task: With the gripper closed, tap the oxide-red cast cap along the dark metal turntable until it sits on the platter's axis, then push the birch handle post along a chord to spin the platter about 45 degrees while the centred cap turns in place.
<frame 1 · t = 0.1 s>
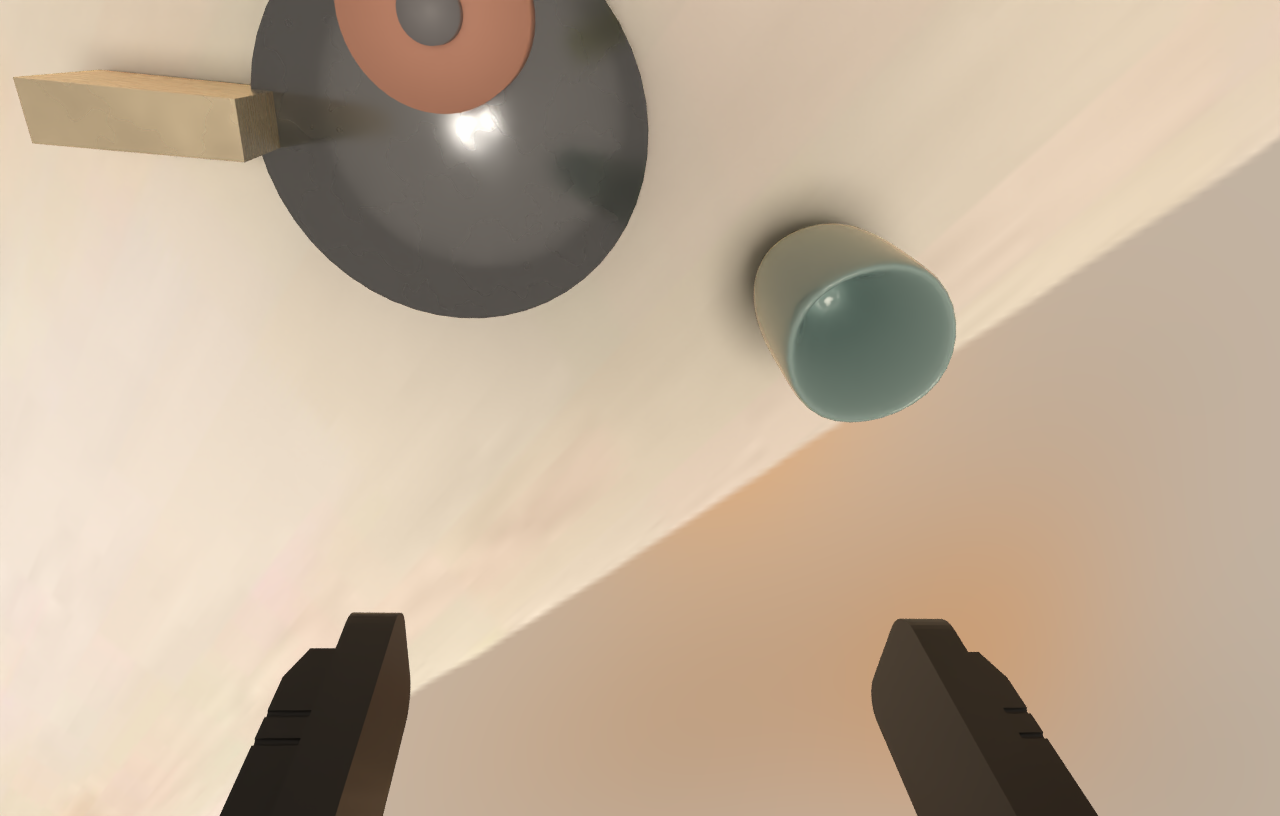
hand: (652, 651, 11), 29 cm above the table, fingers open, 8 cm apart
cast cap: (453, 14, 30), point 2 cm above the table, touching platter
cup: (806, 276, 39), on the table
platter: (372, 133, 31), point 3 cm above the table, hinge at 0.0°, touching cast cap
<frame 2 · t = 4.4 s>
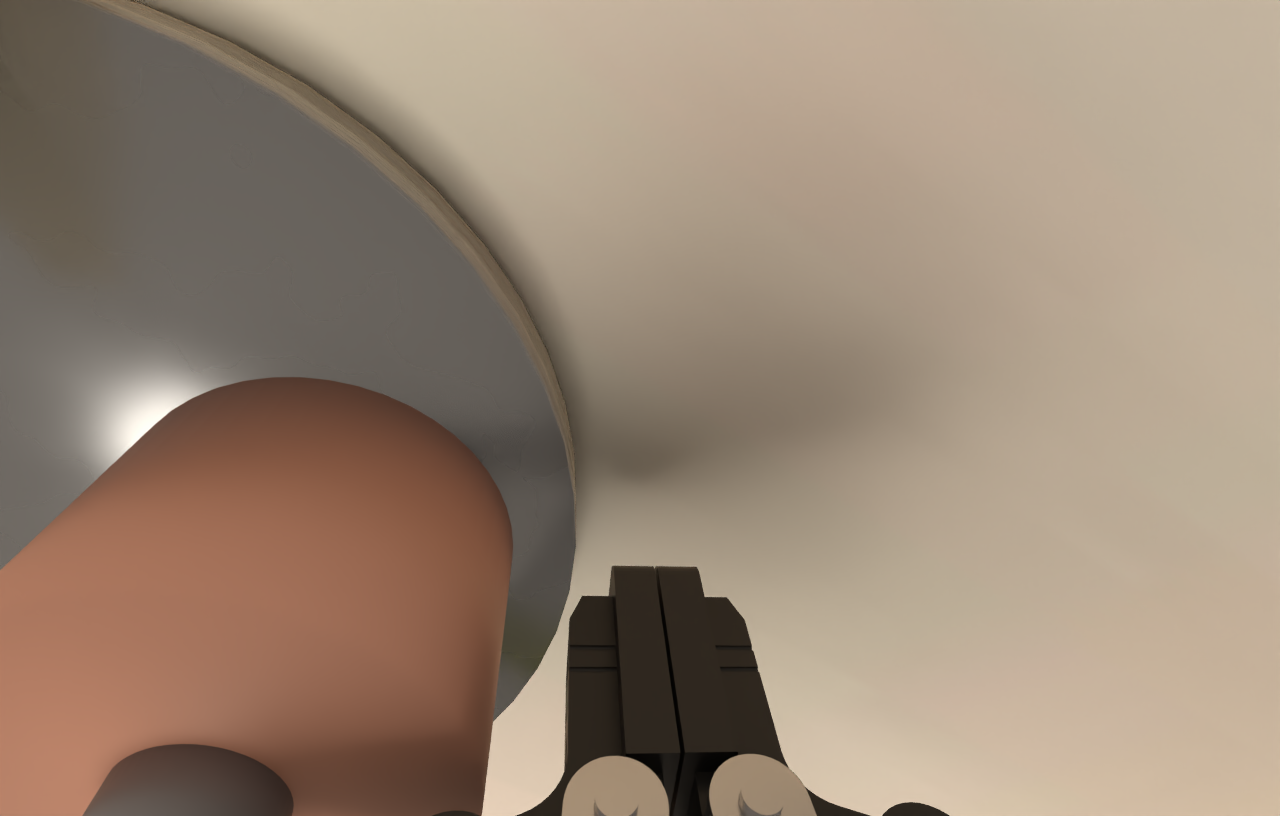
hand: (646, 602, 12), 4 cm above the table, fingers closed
cast cap: (326, 542, 13), point 2 cm above the table, touching gripper, platter
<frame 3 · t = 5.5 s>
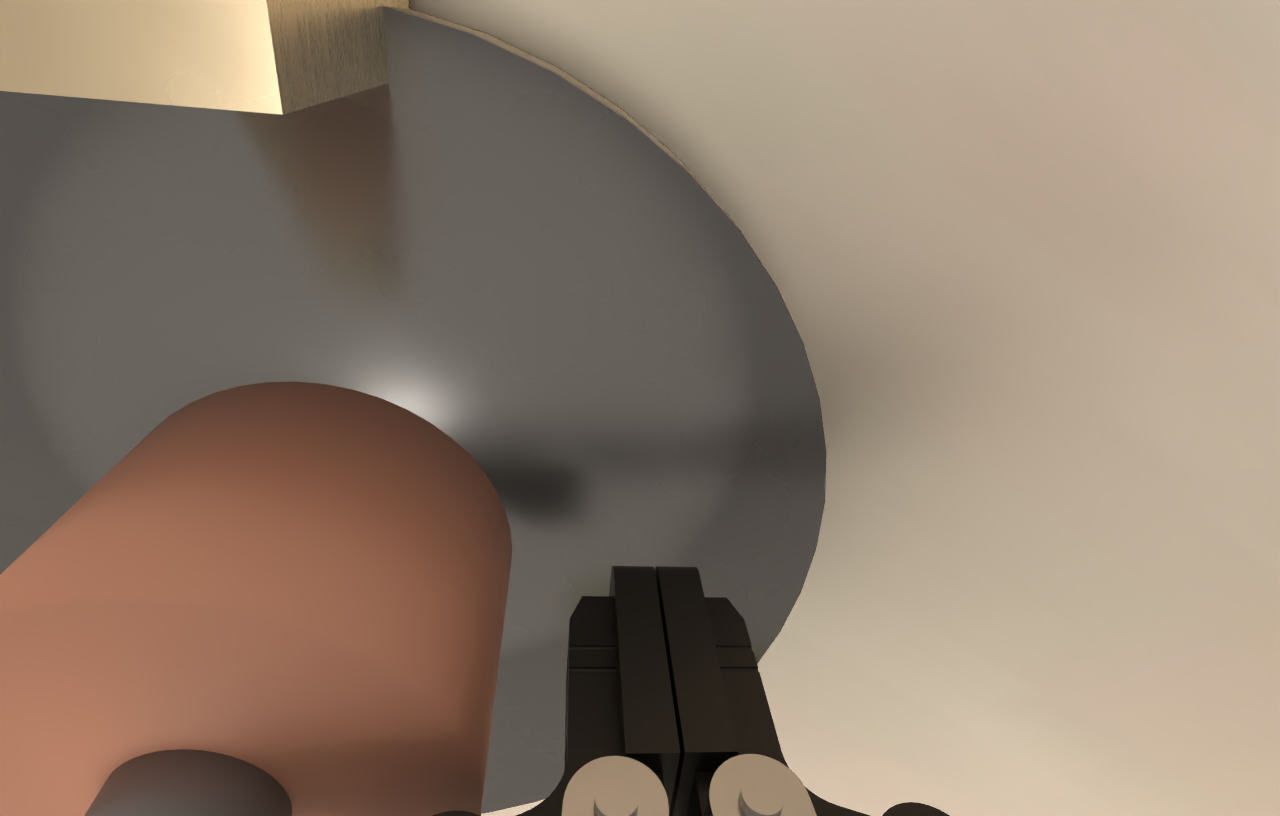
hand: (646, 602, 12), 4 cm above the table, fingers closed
cast cap: (325, 546, 13), point 2 cm above the table, touching gripper, platter
platter: (313, 408, 10), point 3 cm above the table, hinge at 0.0°, touching cast cap
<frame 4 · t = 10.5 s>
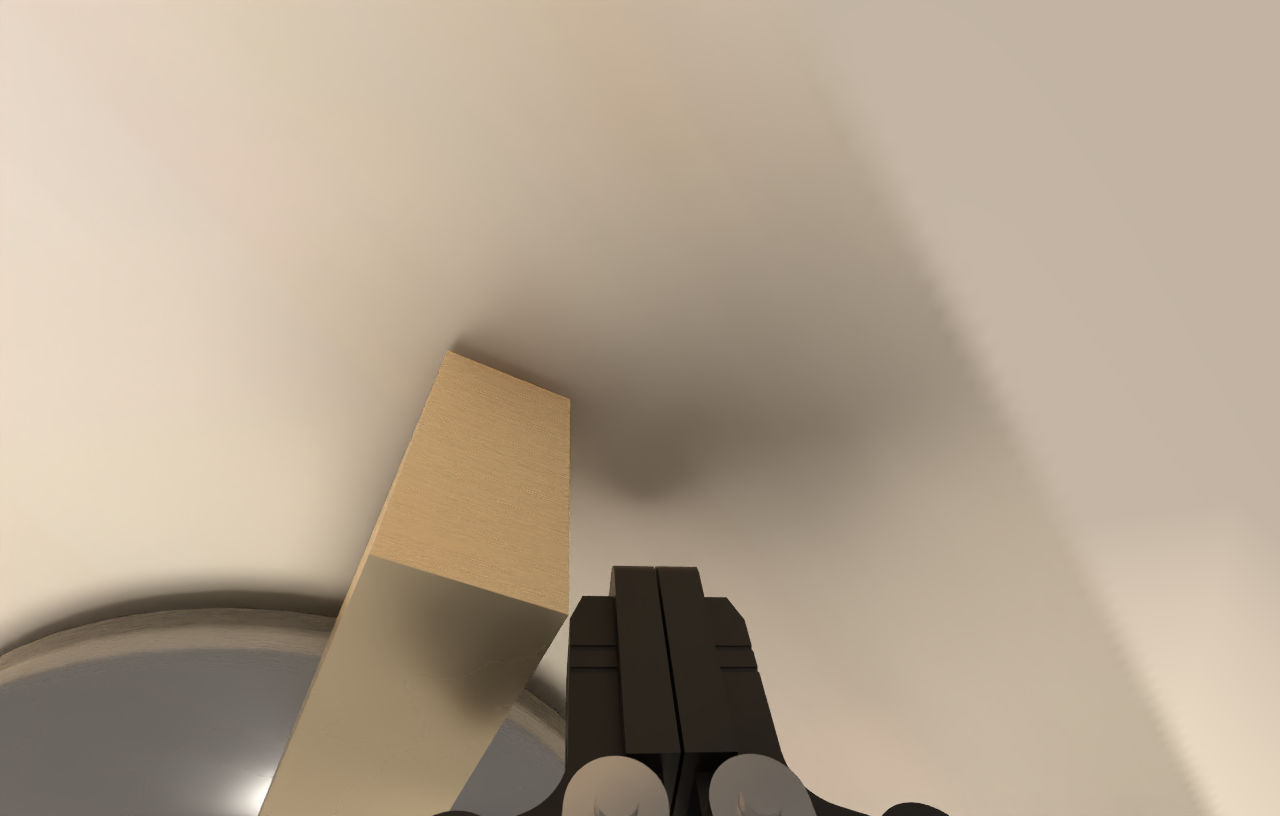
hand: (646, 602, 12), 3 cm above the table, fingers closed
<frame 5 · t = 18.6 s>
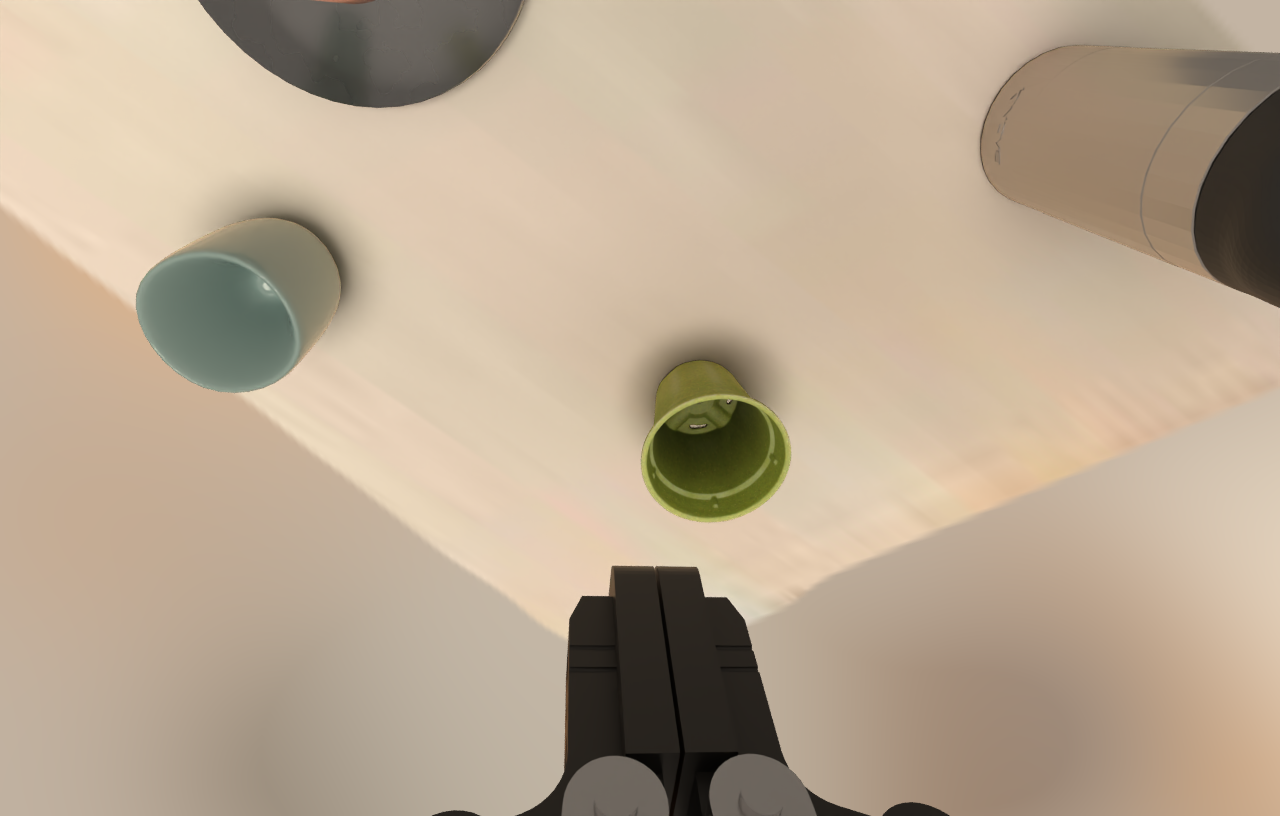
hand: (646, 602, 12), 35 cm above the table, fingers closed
cup: (292, 265, 44), on the table
plant pot: (695, 395, 51), on the table
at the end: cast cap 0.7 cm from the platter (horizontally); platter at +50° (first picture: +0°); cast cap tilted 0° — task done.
